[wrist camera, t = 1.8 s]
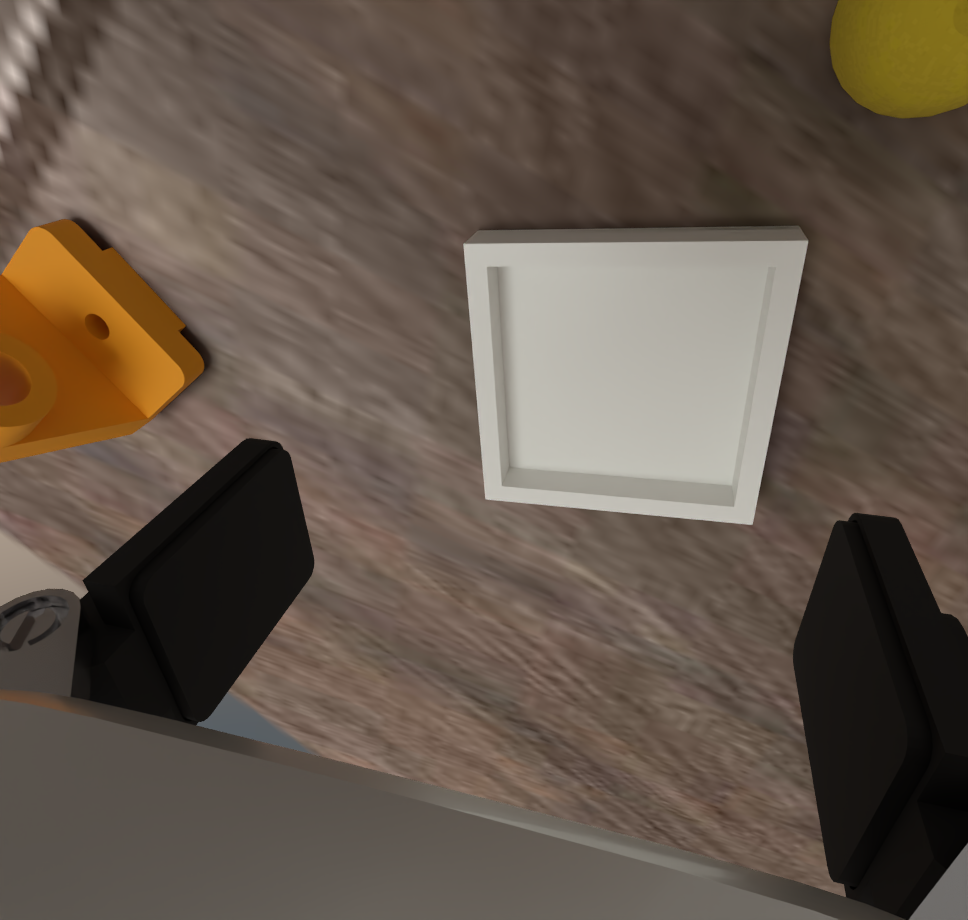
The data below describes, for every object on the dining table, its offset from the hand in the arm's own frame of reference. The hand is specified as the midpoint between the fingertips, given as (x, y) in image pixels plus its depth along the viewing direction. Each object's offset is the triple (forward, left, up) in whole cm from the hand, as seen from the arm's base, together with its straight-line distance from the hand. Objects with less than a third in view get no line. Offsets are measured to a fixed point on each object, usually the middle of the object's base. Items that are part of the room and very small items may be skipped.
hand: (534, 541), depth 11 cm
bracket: (+5, -30, -22) cm, 37 cm away
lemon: (-7, +9, -22) cm, 25 cm away
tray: (+7, 0, -22) cm, 23 cm away
